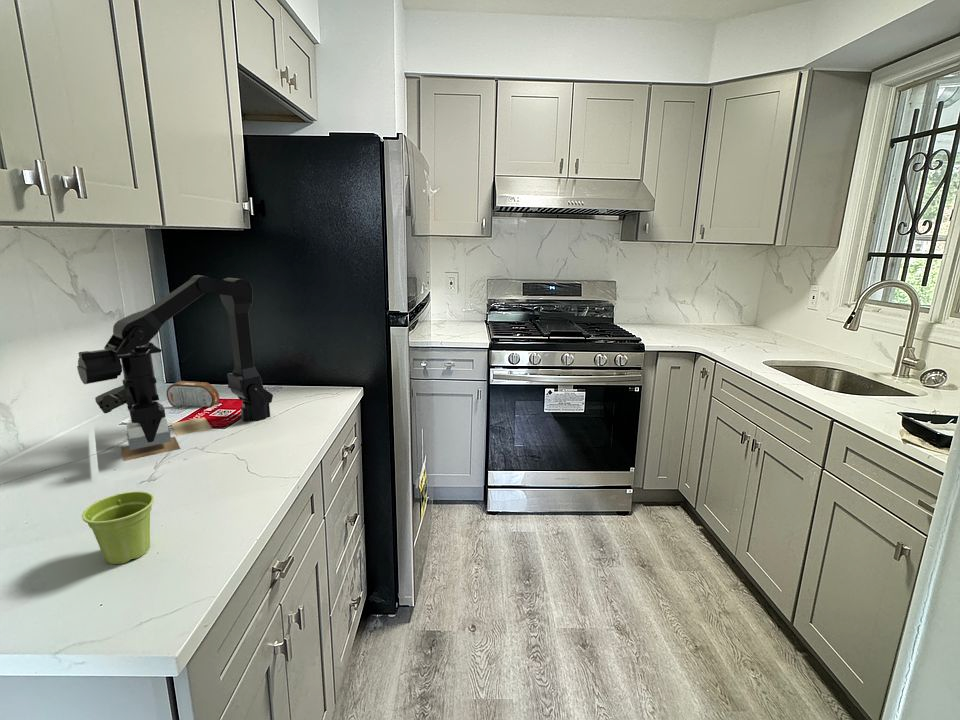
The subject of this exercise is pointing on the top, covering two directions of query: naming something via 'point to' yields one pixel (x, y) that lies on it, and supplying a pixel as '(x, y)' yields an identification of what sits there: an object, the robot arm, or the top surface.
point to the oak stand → (191, 426)
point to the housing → (138, 437)
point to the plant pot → (121, 525)
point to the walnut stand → (149, 450)
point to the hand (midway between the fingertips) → (149, 438)
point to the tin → (192, 394)
